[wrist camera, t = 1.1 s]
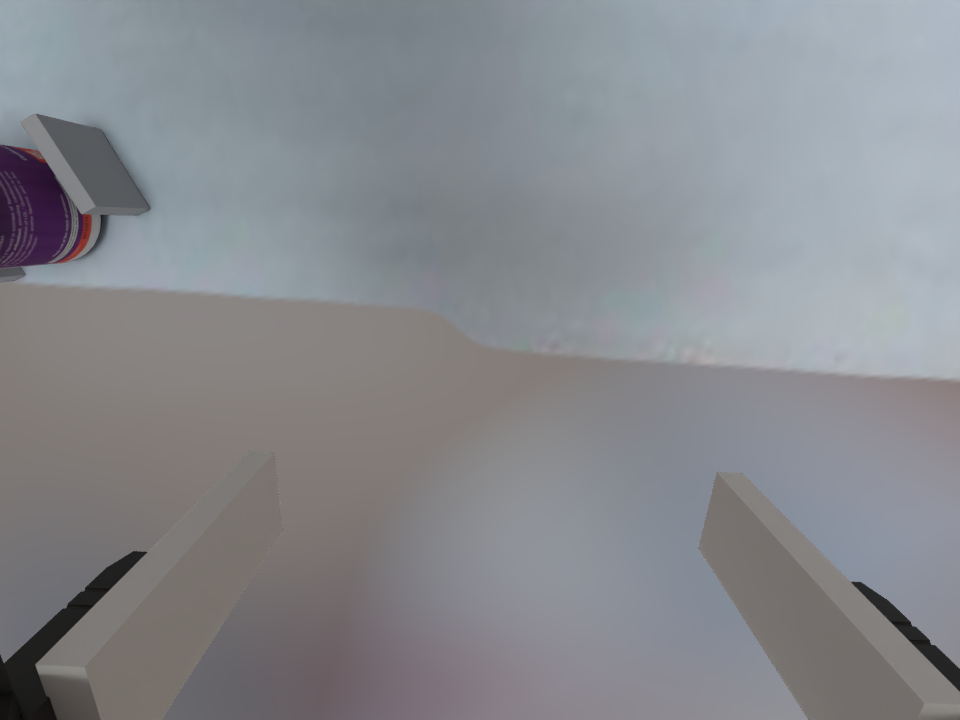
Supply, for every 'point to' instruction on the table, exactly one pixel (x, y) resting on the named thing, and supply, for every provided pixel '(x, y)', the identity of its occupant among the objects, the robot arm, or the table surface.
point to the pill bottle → (39, 214)
